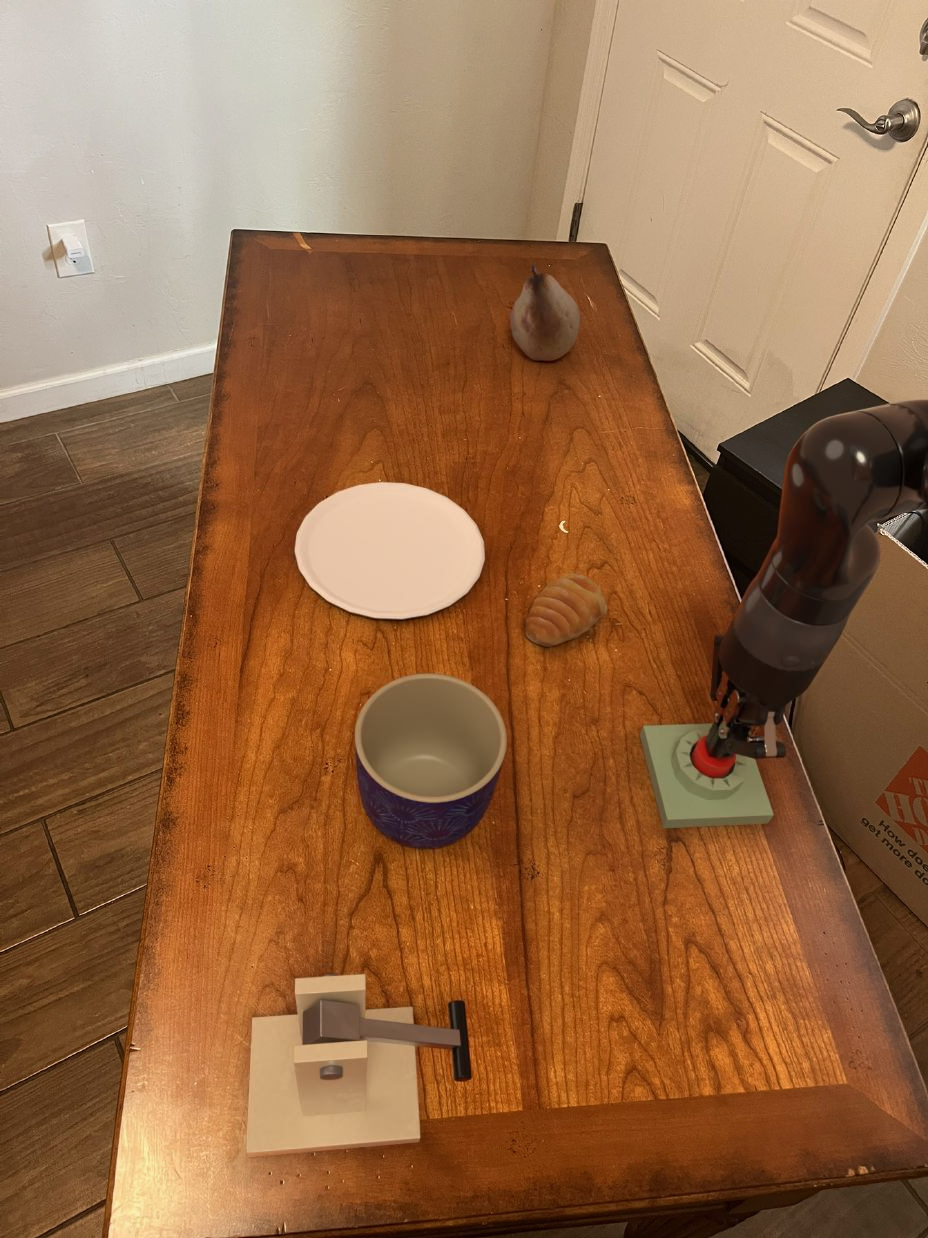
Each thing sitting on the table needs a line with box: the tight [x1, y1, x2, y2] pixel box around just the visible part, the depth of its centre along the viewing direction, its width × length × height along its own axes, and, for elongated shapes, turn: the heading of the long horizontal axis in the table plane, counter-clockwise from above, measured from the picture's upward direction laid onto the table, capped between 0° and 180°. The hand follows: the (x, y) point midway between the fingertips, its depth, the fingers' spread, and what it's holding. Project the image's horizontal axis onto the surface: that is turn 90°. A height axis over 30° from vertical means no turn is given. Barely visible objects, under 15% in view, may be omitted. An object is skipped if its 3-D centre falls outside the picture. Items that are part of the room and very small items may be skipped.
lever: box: [302, 999, 473, 1083], centre depth 61 cm, size 12×5×2 cm
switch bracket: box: [245, 973, 421, 1158], centre depth 63 cm, size 12×9×15 cm
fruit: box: [510, 265, 581, 362], centre depth 127 cm, size 10×9×12 cm
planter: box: [354, 673, 508, 850], centre depth 80 cm, size 12×12×11 cm
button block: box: [639, 722, 775, 829], centre depth 87 cm, size 10×10×4 cm
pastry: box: [525, 572, 608, 648], centre depth 98 cm, size 9×7×4 cm
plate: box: [294, 481, 486, 621], centre depth 103 cm, size 21×21×1 cm
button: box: [692, 735, 736, 778], centre depth 86 cm, size 4×4×2 cm
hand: (717, 749), depth 85 cm, fingers closed
